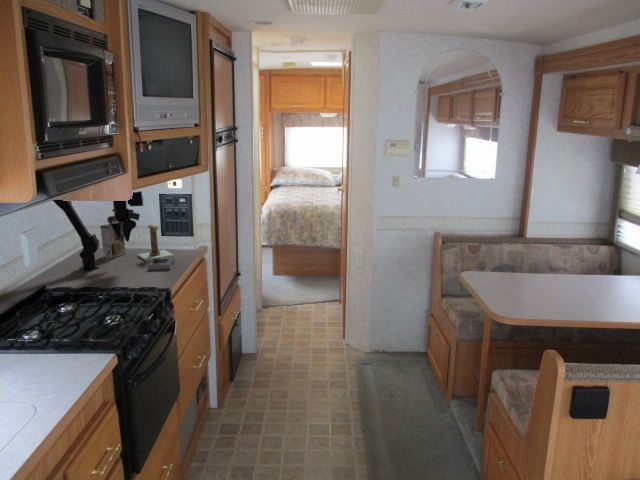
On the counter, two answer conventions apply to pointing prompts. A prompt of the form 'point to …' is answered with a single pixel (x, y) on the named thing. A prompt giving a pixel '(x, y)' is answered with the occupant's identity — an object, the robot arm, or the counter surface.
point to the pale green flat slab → (162, 255)
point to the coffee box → (112, 242)
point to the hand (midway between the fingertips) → (123, 239)
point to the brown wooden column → (154, 240)
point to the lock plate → (161, 264)
